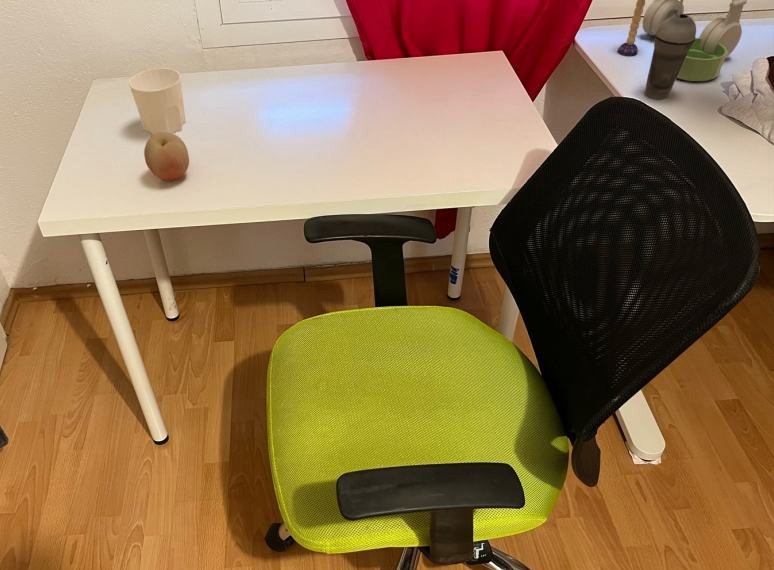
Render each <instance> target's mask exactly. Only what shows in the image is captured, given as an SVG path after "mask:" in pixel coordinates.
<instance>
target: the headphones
mask: <svg viewBox="0 0 774 570" xmlns="http://www.w3.org/2000/svg"><path fill="white" fill-rule="evenodd" d="M747 3H748V0H731V2H730V3H729V9H728V12H727V13H726V15H725V17H717V18H716V17H715V18H714V19H712V20H711V21H710V22H709V23H708V24H707V25H706V26H705V27H704V28H703V30H702V31H701V33H700V35H699V36H698V38H700V39H701V41H700V49H701V50H703V49H704V52H705V53H707V54H710V55H714V54H715V51H716V49H717V46H718V44H722V45H723V46H724V47H725V48H726V49H727V55H726V57H725V59H726V58H728V57H729V56H730V55H731V54H732V53H733V52H734V50H735V49H736V47H738V44H739V42H740V40H741V37H742V33H743V30H742V25H741V22H740V19H741V16H742V12H743V8H744V6H745V5H746V4H747ZM679 5H680V0H653V1H652V2H651V3H650V4H649V6H648V7H647V9H646V10H645V12H644V15H643V18H642V29H643V31H644V33H646V34H647V35H650V36H655V34H656V32H657V30H658V28H659V26H660V25H661V24H662V23H663V21H665V20H666V19H667V18H668V17H670V16H672V15H675V14H678V9H679ZM684 11H685V6H684V3H683V4H682V9H681V13H680V14H685V13H684Z"/></svg>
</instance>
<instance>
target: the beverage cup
mask: <svg viewBox="0 0 774 570" xmlns="http://www.w3.org/2000/svg"><path fill="white" fill-rule="evenodd" d="M679 1H680V5H679V9H678V14H675V15H672V16H670V17H668V18H667V19H666V20H665V21H663V23H662V24H661V25H660V26H659V28H658V30H657V32H656V34H655V35H654V37H655V38H654V41H653V42H654V43H653V50H652V51H653V53H652V56H651V60H650V65H649V70H648V74H647V79H646V84H645V90H644V95H645V96H646V97H648V98H650V99H654V100H664V99H666V98H668V97H669V95H670V93H671V90H672V89H673V87H674V85H675V83H676V80H677V79H678V78H677V75H678V73H679V71H680V69H681V66H682V64H683V62H684V60H685V57H686V55H687V53H688V51H689V50H690V48H691V46H692V45H693V42H694V41H695V38H696V36H697V25H696V22H695V20H694V19H693V17H691V16H690V15H688V14H685V13H683V14H680V13H681V9H682V4H683V5H684V0H679Z"/></svg>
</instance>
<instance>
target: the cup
mask: <svg viewBox="0 0 774 570" xmlns="http://www.w3.org/2000/svg"><path fill="white" fill-rule="evenodd" d="M128 86H129V89H130V91H131V95H132V97H133V100H134V103H135V105H136V109H137V112H138V114H139V118H140V122H141V124H142V127H143V130H144V131H147V132H148V133H150V134H151V136H153V135H154V134H156V133H160V132H167V133H172V134H175V133H178V132H181V131H183V125H184V124H186V123H187V120H186V114H185V113H186V112H185V105H184V97H183V87H182V77H181V74H180V72H179V71H177V70H176V69H172V68H167V67H155V68H149V69H145V70H142V71H140V72H138V73H136V74H134V75H132V77H130V78H129V81H128Z"/></svg>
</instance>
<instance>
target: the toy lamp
mask: <svg viewBox="0 0 774 570" xmlns="http://www.w3.org/2000/svg"><path fill="white" fill-rule="evenodd" d="M645 5H646V0H637V1H636V4H635V8H634V11H633V16H632V17H631V23H630V26H629V31H628V33H627V34H628V35H627V36H628V37H627V38H626V42H624V43H622V44H621V45H620V46H619V47H618V48H617V53H618V54H619V55H622V56H628V57H629V56H630V57H631V56H635V55H638V53H639V49H638V46H637V44H635V42H636V37H637V35H638V29H639V27H640V22H641V20H642V14H643V12H644V7H645Z"/></svg>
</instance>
